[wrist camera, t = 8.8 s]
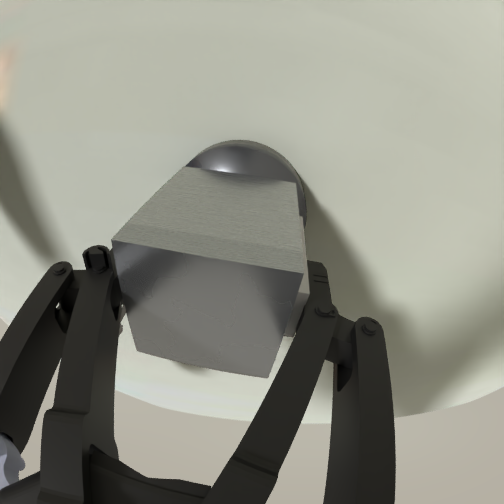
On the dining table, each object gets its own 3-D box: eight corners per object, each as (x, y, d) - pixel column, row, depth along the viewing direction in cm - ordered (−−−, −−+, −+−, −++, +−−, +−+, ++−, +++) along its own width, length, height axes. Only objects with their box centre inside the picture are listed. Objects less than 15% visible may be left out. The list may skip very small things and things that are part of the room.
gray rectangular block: (183, 166, 15) (111, 239, 9) (295, 183, 15) (304, 273, 9) (182, 257, 19) (137, 351, 12) (275, 273, 19) (267, 378, 12)
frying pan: (181, 133, 17) (120, 170, 11) (317, 153, 17) (338, 202, 10) (183, 339, 29) (163, 401, 23) (264, 354, 29) (257, 420, 23)
